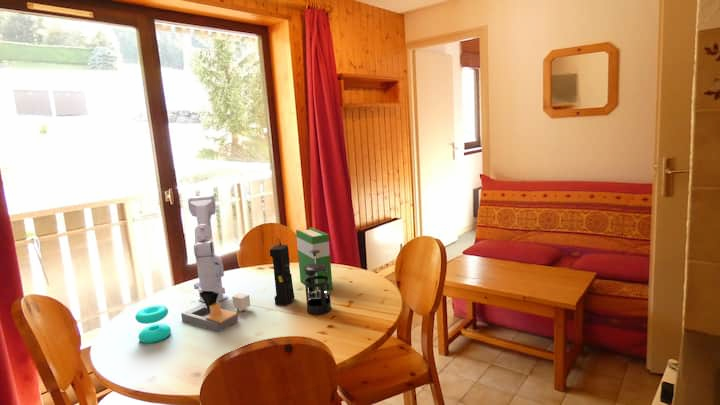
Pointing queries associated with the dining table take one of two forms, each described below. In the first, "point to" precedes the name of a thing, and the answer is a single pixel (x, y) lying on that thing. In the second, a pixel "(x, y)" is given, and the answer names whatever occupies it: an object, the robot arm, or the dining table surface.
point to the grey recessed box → (199, 318)
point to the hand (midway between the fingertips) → (211, 310)
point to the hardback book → (310, 242)
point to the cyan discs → (156, 330)
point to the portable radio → (282, 275)
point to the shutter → (219, 313)
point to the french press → (317, 297)
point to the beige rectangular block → (241, 301)
